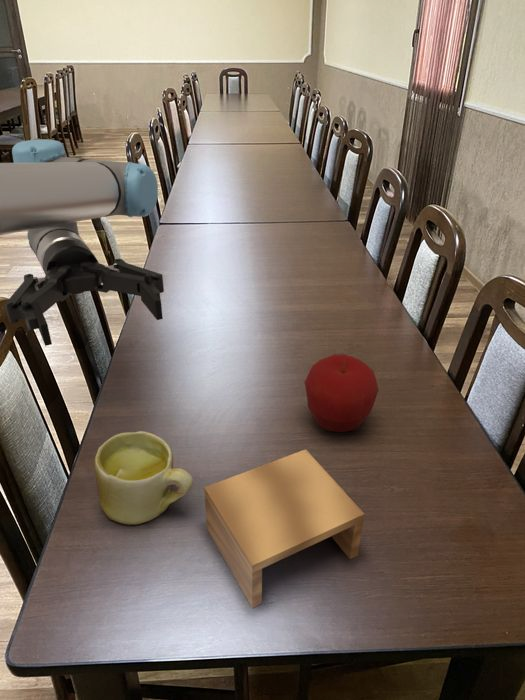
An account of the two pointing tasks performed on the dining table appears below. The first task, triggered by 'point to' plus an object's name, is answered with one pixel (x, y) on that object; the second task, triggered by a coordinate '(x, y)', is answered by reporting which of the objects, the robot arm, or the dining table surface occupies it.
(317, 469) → the shelf
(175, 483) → the mug
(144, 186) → the robot arm
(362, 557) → the dining table surface
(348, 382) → the apple
